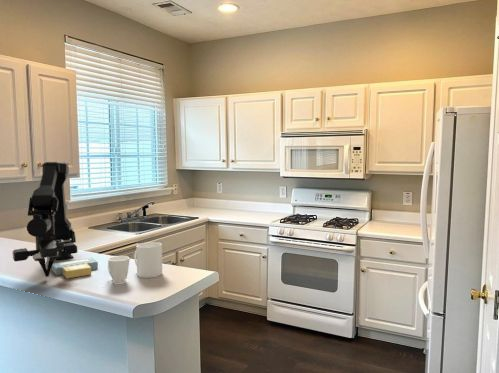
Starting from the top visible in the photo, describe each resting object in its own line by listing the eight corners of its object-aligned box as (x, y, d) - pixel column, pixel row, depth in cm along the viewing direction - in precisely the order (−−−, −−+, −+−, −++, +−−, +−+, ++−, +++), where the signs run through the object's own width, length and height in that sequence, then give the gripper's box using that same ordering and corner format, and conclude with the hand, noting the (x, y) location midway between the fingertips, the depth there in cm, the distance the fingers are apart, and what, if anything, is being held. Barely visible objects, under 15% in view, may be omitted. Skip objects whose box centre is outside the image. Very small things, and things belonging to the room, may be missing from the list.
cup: (115, 287, 123) (114, 262, 123) (99, 280, 130) (98, 257, 129) (134, 281, 128) (134, 257, 128) (118, 275, 135) (117, 253, 134)
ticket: (52, 270, 142) (52, 263, 141) (92, 264, 150) (92, 257, 150) (56, 275, 136) (56, 268, 135) (97, 268, 144) (97, 261, 144)
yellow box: (63, 274, 136) (62, 267, 136) (87, 270, 141) (86, 263, 141) (66, 278, 131) (66, 271, 131) (91, 274, 136) (91, 267, 136)
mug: (144, 268, 144) (143, 239, 143) (167, 273, 137) (166, 243, 137) (125, 274, 137) (124, 244, 136) (148, 280, 130) (148, 248, 130)
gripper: (14, 238, 117) (17, 288, 119) (80, 231, 128) (82, 277, 130) (11, 232, 126) (13, 279, 128) (72, 226, 137) (74, 269, 139)
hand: (46, 276), depth 131 cm, fingers closed
